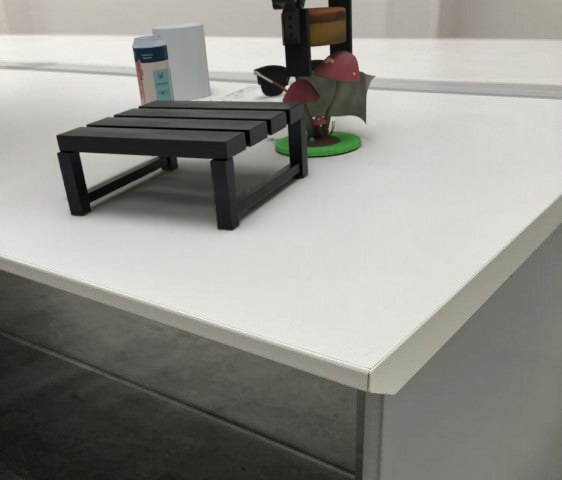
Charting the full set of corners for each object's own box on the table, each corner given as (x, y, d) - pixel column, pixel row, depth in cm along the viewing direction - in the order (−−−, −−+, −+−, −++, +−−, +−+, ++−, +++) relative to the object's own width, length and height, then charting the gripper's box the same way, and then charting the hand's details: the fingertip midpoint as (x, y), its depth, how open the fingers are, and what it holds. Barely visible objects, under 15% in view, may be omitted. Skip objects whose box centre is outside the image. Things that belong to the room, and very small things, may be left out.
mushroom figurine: (349, 162, 77) (347, 12, 69) (254, 154, 83) (242, 16, 75) (387, 138, 86) (390, 3, 78) (299, 133, 91) (293, 6, 84)
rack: (70, 215, 67) (52, 136, 63) (167, 166, 81) (157, 99, 77) (232, 230, 60) (223, 143, 56) (308, 174, 74) (305, 101, 70)
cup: (200, 99, 119) (191, 22, 113) (219, 105, 113) (211, 24, 107) (156, 106, 116) (145, 27, 110) (173, 112, 110) (162, 29, 103)
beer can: (155, 124, 103) (141, 35, 97) (183, 124, 101) (171, 34, 95) (139, 131, 99) (124, 40, 93) (168, 131, 98) (155, 38, 91)
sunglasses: (327, 88, 120) (327, 57, 117) (372, 108, 108) (373, 74, 105) (254, 98, 116) (252, 67, 113) (292, 120, 104) (291, 85, 101)
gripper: (299, -184, 58) (311, 85, 69) (384, -157, 77) (383, 50, 88) (221, -171, 60) (245, 85, 71) (322, -148, 79) (329, 52, 91)
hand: (321, 67), depth 80 cm, fingers open, 13 cm apart
